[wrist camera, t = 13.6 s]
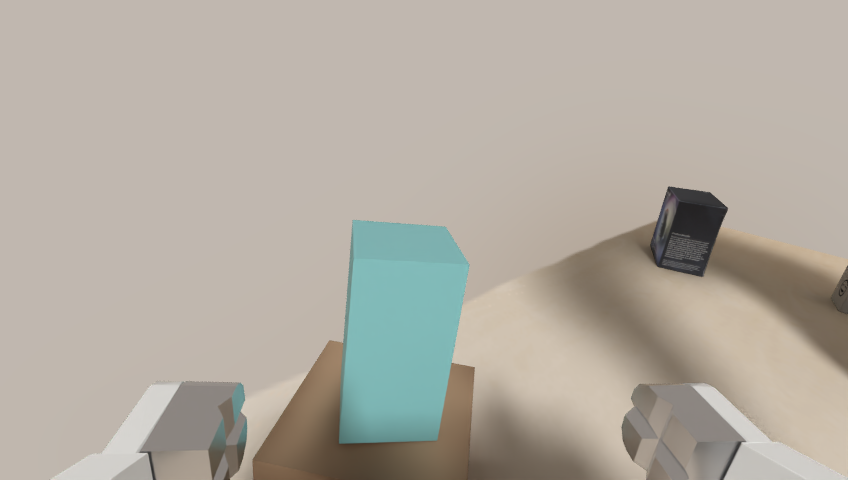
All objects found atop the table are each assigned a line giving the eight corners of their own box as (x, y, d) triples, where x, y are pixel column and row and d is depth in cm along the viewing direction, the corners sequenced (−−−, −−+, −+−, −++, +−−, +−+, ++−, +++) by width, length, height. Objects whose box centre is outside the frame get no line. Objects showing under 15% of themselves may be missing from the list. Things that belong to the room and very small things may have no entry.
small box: (646, 244, 72) (666, 184, 68) (689, 253, 70) (712, 192, 66) (654, 266, 62) (677, 198, 59) (704, 278, 60) (731, 207, 57)
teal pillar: (421, 377, 26) (445, 226, 23) (437, 440, 22) (469, 264, 18) (340, 377, 25) (352, 220, 22) (338, 443, 21) (353, 258, 17)
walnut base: (463, 425, 30) (474, 367, 28) (450, 580, 20) (465, 507, 19) (327, 398, 31) (329, 340, 29) (256, 533, 21) (252, 459, 20)
